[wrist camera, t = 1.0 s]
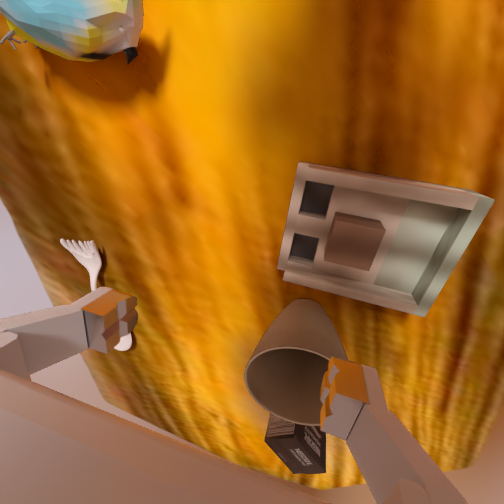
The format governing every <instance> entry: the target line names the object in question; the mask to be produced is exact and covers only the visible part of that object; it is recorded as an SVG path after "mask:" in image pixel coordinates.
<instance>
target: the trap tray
mask: <svg viewBox="0 0 504 504" xmlns="http://www.w3.org/2000/svg"><path fill="white" fill-rule="evenodd" d="M494 201H495V200H494V199H491V198H489V197H486V196H484V195H482V194H479V193H477V192H474V191H472V190H469V189H463V188H457V187H451V186H445V185H439V184H433V183H427V182H421V181H415V180H409V179H403V178H397V177H391V176H385V175H379V174H373V173H367V172H361V171H355V170H349V169H343V168H337V167H331V166H325V165H319V164H313V163H307V162H301V161H300V162H299V163H298V167H297V172H296V177H295V182H294V186H293V191H292V196H291V201H290V206H289V211H288V216H287V221H286V226H285V231H284V236H283V240H282V245H281V250H280V255H279V260H278V265H277V269H279V270H283V271H285V272H284V276H283V281H287V282H291V283H294V284H298V285H302V286H306V287H310V288H314V289H318V290H321V291H325V292H329V293H333V294H337V295H341V296H345V297H348V298H352V299H356V300H360V301H364V302H368V303H372V304H375V305H379V306H383V307H387V308H391V309H395V310H399V311H402V312H406V313H410V314H414V315H418V316H422V317H425V316H426V314H427V312H428V311H429V309H430V307H431V306H432V304H433V302H434V301H435V299H436V297H437V296H438V294H439V292H440V291H441V289H442V287H443V286H444V284H445V282H446V281H447V279H448V277H449V276H450V274H451V272H452V271H453V269H454V267H455V266H456V264H457V262H458V261H459V259H460V257H461V256H462V254H463V252H464V251H465V249H466V247H467V246H468V244H469V242H470V241H471V239H472V237H473V236H474V234H475V232H476V231H477V229H478V227H479V226H480V224H481V222H482V221H483V219H484V217H485V216H486V214H487V212H488V211H489V209H490V208H491V206H492V204H493V203H494ZM335 211H336V212H341V213H346V214H351V215H356V216H361V217H366V218H371V219H376V220H380V221H381V223H382V225H383V226H384V228H385V230H386V232H385V234H384V236H383V239H382V241H381V244H380V246H379V248H378V251H377V253H376V256H375V258H374V261H373V263H372V265H371V268H370V270H369V271H365V270H361V269H357V268H352V267H348V266H344V265H340V264H336V263H331V262H327V261H324V248H325V245H326V242H327V238H328V235H329V231H330V228H331V225H332V221H333V218H334V215H335Z"/></svg>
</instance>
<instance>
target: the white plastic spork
mask: <svg viewBox="0 0 504 504" xmlns="http://www.w3.org/2000/svg"><path fill="white" fill-rule="evenodd" d="M60 242H61V244H62V245H63V246H64V247H65V248H66V249H67V250H69V251H70V252H71V253H72V254H73V255H74V256H75V258H76V259H77V260H78V261H79V262H80V263H81V264H82V265H83V266H84V267H86V269H87V270H88V271H89V274H90V282H91V290H92V291H94V290H96V289H97V277H98V273H99V271H100V268H101V266H102V261H101V257H100V255H99V251H98V248H97V246H96V244H95V242H94V241H90V242H89V241H87V242H86V241H84V243H82V242H81V241H79V244H78V243H77V242H75V241H74V240H72V242H71V241H70V240H67V242H66V241H65V240H64V239H63V238H62V239H60ZM131 345H132V337H131V333H129V334H128V335H126V336H123V337H121V338H120V343H118V344H117V345H116V346H115V347H114V348H115V349H116V350H119V351H126V350H128V349H130V347H131Z"/></svg>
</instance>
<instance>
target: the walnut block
mask: <svg viewBox="0 0 504 504" xmlns="http://www.w3.org/2000/svg"><path fill="white" fill-rule="evenodd" d="M385 232H386V230H385V228H384V226H383V225H382V223H381V221H380V220H376V219H371V218H366V217H361V216H356V215H351V214H346V213H341V212H336V211H335V215H334V218H333V221H332V225H331V228H330V231H329V235H328V238H327V242H326V245H325V248H324V261H327V262H331V263H336V264H340V265H344V266H348V267H352V268H357V269H361V270H365V271H369V270H370V268H371V265H372V263H373V261H374V258H375V256H376V253H377V251H378V248H379V246H380V244H381V241H382V239H383V236H384V234H385Z"/></svg>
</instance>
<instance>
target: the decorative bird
mask: <svg viewBox="0 0 504 504" xmlns="http://www.w3.org/2000/svg"><path fill="white" fill-rule="evenodd" d="M0 13H1V14H2V15H3V16H4V17H5V19H6V21H7V24H8V26H9V29H10V31H9V32H8V33H7V34H6V35H5V36H4V37H3V39H2V40H1V41H0V43H1V44H3V42H4V41H5V40H6V39H8V40H9V42H10V43H11V45H12V46H13V48H14V49H15V50H17V49H16V47H15V46H14V44H13V43H12V41H11V40H14V41H16V42H18V43H20V44H21V42H20V41H18V40H16V39H14V38H12V37H13V36H14V35H15V34H16V35H17V36H19V37H21V38H22V39H24V41H23V42H24V43H26V42H27V41H28V42H30V43H32V44H34V45H35V47H36V49H38V47H40V48H42V49H44V50H46V51H48V52H50V53H53V54H55V55H57V56H60V57H62V58H65V59H67V60H75V61H85V62H93V61H98V60H102V59H105V58H107V57H109V56H110V55H112V54H115V53H118V52H122V51H123V52H124V53H126V57H127V64H129V63H130V62H131V61H132V60H133V59H134V58H136V57H137V56H138V54H137V50H136V47H137V46H138V41H139V36H140V33H141V30H142V28H143V16H144V13H143V0H0ZM10 39H11V40H10ZM37 46H38V47H37Z"/></svg>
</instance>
